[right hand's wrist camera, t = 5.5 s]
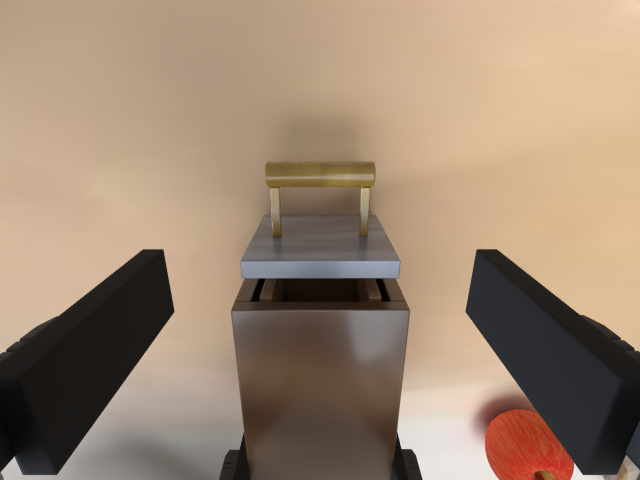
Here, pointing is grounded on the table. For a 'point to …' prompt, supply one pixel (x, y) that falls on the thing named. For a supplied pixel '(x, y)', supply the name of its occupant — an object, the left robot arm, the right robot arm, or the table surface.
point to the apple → (525, 448)
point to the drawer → (320, 241)
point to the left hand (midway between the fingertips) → (320, 419)
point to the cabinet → (320, 384)
